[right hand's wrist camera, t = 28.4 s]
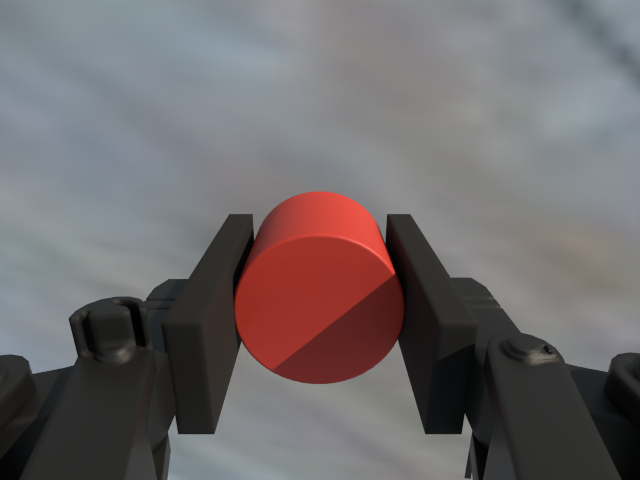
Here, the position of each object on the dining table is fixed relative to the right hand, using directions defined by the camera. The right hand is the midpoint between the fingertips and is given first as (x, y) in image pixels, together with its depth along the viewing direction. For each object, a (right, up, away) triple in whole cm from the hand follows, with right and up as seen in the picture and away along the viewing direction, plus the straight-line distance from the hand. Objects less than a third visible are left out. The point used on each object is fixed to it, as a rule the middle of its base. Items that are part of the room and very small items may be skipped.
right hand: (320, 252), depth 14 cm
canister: (0, 0, 0) cm, 0 cm away
